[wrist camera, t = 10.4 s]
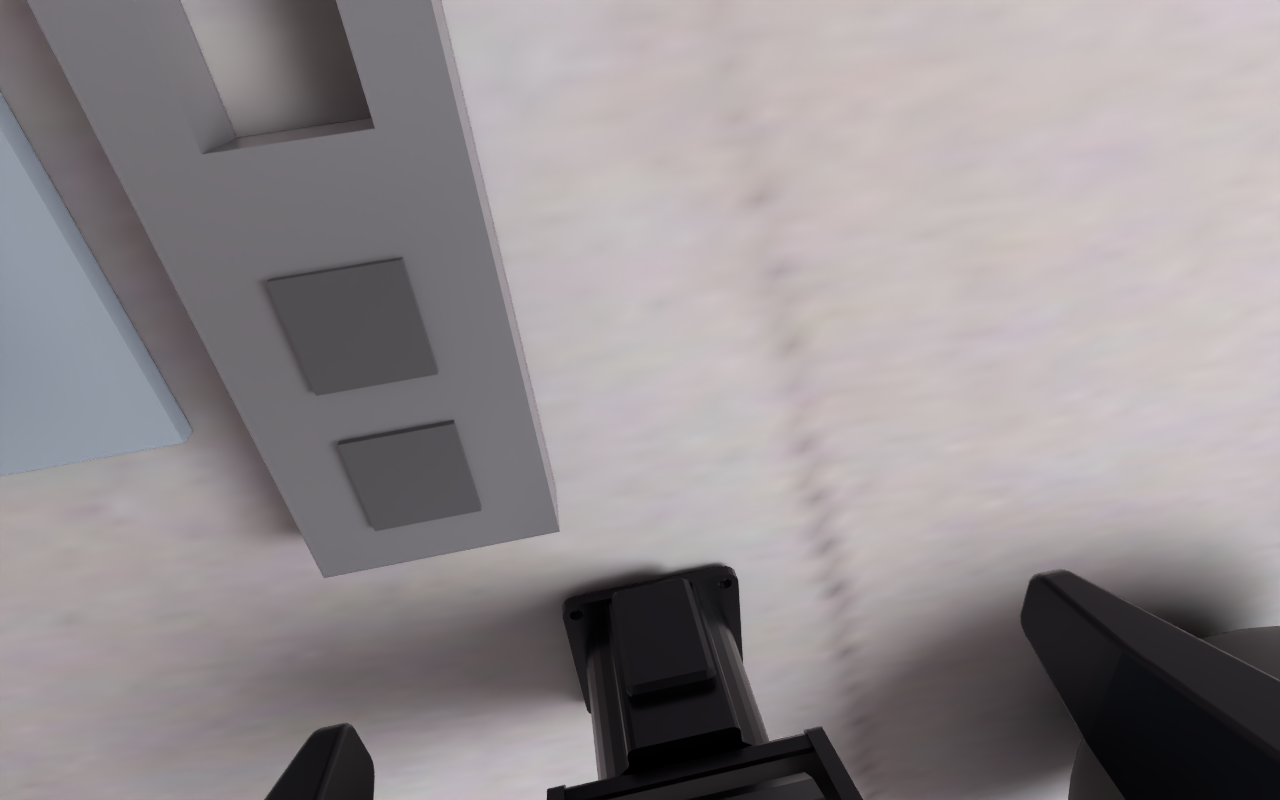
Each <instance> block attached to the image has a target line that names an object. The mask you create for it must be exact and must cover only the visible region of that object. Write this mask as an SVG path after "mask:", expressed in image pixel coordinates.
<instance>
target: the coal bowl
mask: <svg viewBox="0 0 1280 800" xmlns="http://www.w3.org/2000/svg"><path fill="white" fill-rule="evenodd" d="M1201 640H1203V641H1205V642H1207V643H1209V644H1210V645H1212V646H1214V647H1216V648H1218V649H1220V650H1222V651H1224V652H1226V653H1228V654H1230V655H1232V656H1234V657H1236V658H1237V659H1239V660H1241V661H1243V662H1245V663H1247V664H1249V665H1251V666H1253V667H1255V668H1257V669H1259V670H1261V671H1263V672H1264V673H1266V674H1268V675H1270V676H1272V677H1274V678H1276V679H1278V680H1280V626H1272V627H1260V628H1248V629H1242V630H1236V631H1231V632H1226V633H1221V634H1217V635H1212V636H1208V637H1205V638H1201ZM1068 800H1125V799H1124V798H1123V796H1122V795H1121V793H1120V792H1119V790H1118V789H1117V787H1116V786H1115V785H1114V783H1113V782H1112V780H1111V779H1110V777H1109V776H1108V774H1107V773H1106V771H1105V770H1104V769H1103V767H1102V766H1101V764H1100V763H1099V761H1098V760H1097V758H1096V757H1095V755H1094V754H1093V752H1092V751H1091V749H1090V748H1089V746H1088V745H1087V743H1086V741H1085V740H1084V738H1083V739H1082V741H1081V743H1080V746H1079V748H1078V751H1077V754H1076V758H1075V762H1074V766H1073V770H1072V774H1071V779H1070V787H1069V795H1068Z"/></svg>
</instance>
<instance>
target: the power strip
mask: <svg viewBox="0 0 1280 800" xmlns="http://www.w3.org/2000/svg"><path fill="white" fill-rule="evenodd" d="M27 2H28V4H29V6H30V8H31V10H32V12H33V14H34V16H35V18H36V20H37V22H38V24H39V26H40V28H41V29H42V31H43V33H44V35H45V37H46V39H47V41H48V43H49V45H50V47H51V49H52V51H53V53H54V55H55V57H56V59H57V61H58V62H59V64H60V66H61V68H62V70H63V72H64V74H65V76H66V78H67V80H68V82H69V84H70V86H71V88H72V90H73V92H74V94H75V95H76V97H77V99H78V101H79V103H80V105H81V107H82V109H83V111H84V113H85V115H86V117H87V119H88V121H89V123H90V125H91V127H92V129H93V130H94V132H95V134H96V136H97V138H98V140H99V142H100V144H101V146H102V148H103V150H104V152H105V154H106V156H107V158H108V160H109V162H110V163H111V165H112V167H113V169H114V171H115V173H116V175H117V177H118V179H119V181H120V183H121V185H122V187H123V189H124V191H125V193H126V195H127V196H128V198H129V200H130V202H131V204H132V206H133V208H134V210H135V212H136V214H137V216H138V218H139V220H140V222H141V224H142V226H143V228H144V230H145V231H146V233H147V235H148V237H149V239H150V241H151V243H152V245H153V247H154V249H155V251H156V253H157V255H158V257H159V259H160V261H161V263H162V264H163V266H164V268H165V270H166V272H167V274H168V276H169V278H170V280H171V282H172V284H173V286H174V288H175V290H176V292H177V294H178V296H179V298H180V299H181V301H182V303H183V305H184V307H185V309H186V311H187V313H188V315H189V317H190V319H191V321H192V323H193V325H194V327H195V329H196V331H197V332H198V334H199V336H200V338H201V340H202V342H203V344H204V346H205V348H206V350H207V352H208V354H209V356H210V358H211V360H212V362H213V364H214V365H215V367H216V369H217V371H218V373H219V375H220V377H221V379H222V381H223V383H224V385H225V387H226V389H227V391H228V393H229V395H230V397H231V399H232V400H233V402H234V404H235V406H236V408H237V410H238V412H239V414H240V416H241V418H242V420H243V422H244V424H245V426H246V428H247V430H248V432H249V433H250V435H251V437H252V439H253V441H254V443H255V445H256V447H257V449H258V451H259V453H260V455H261V457H262V459H263V461H264V463H265V465H266V466H267V468H268V470H269V472H270V474H271V476H272V478H273V480H274V482H275V484H276V486H277V488H278V490H279V492H280V494H281V496H282V498H283V500H284V501H285V503H286V505H287V507H288V509H289V511H290V513H291V515H292V517H293V519H294V521H295V523H296V525H297V527H298V529H299V531H300V533H301V534H302V536H303V538H304V540H305V542H306V544H307V546H308V548H309V550H310V552H311V554H312V556H313V558H314V560H315V562H316V564H317V566H318V567H319V569H320V571H321V573H322V575H323V577H324V578H327V577H332V576H337V575H342V574H347V573H352V572H358V571H363V570H368V569H373V568H378V567H383V566H388V565H393V564H398V563H403V562H408V561H413V560H418V559H423V558H428V557H433V556H438V555H443V554H448V553H453V552H459V551H464V550H469V549H474V548H479V547H484V546H489V545H494V544H499V543H504V542H509V541H514V540H519V539H524V538H529V537H534V536H539V535H544V534H549V533H554V532H560V530H559V518H558V506H557V493H556V487H555V483H554V479H553V474H552V470H551V466H550V462H549V457H548V453H547V449H546V445H545V440H544V436H543V432H542V428H541V423H540V419H539V415H538V411H537V406H536V402H535V398H534V394H533V389H532V385H531V381H530V377H529V372H528V368H527V364H526V360H525V355H524V351H523V347H522V343H521V338H520V334H519V330H518V326H517V321H516V317H515V313H514V309H513V304H512V300H511V296H510V292H509V287H508V283H507V279H506V275H505V270H504V266H503V262H502V258H501V253H500V249H499V245H498V241H497V236H496V232H495V228H494V224H493V219H492V215H491V211H490V207H489V202H488V198H487V194H486V190H485V185H484V181H483V177H482V173H481V168H480V164H479V160H478V156H477V151H476V147H475V143H474V139H473V134H472V130H471V126H470V122H469V117H468V113H467V109H466V105H465V100H464V96H463V92H462V88H461V83H460V79H459V75H458V71H457V66H456V62H455V58H454V54H453V49H452V45H451V41H450V37H449V32H448V28H447V24H446V19H445V15H444V11H443V7H442V2H441V0H336V3H337V6H338V9H339V13H340V16H341V19H342V22H343V26H344V29H345V32H346V35H347V39H348V42H349V45H350V49H351V52H352V55H353V58H354V62H355V65H356V68H357V71H358V75H359V78H360V81H361V84H362V88H363V91H364V94H365V98H366V101H367V104H368V107H369V111H370V114H371V117H372V118H368V119H361V120H354V121H347V122H341V123H334V124H327V125H320V126H314V127H307V128H300V129H293V130H287V131H280V132H273V133H266V134H260V135H253V136H246V137H239V138H237V137H236V135H235V133H234V130H233V128H232V125H231V123H230V120H229V118H228V116H227V113H226V111H225V108H224V106H223V103H222V101H221V99H220V96H219V94H218V91H217V89H216V86H215V84H214V82H213V79H212V77H211V74H210V72H209V69H208V67H207V65H206V62H205V60H204V57H203V55H202V52H201V50H200V47H199V45H198V43H197V40H196V38H195V35H194V33H193V30H192V28H191V26H190V23H189V21H188V18H187V16H186V13H185V11H184V9H183V6H182V4H181V1H180V0H27Z"/></svg>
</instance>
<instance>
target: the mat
mask: <svg viewBox="0 0 1280 800" xmlns="http://www.w3.org/2000/svg"><path fill="white" fill-rule="evenodd" d="M192 432H193V430H192V429H191V427H190V425H189V423H188V422H187V420H186V418H185V416H184V415H183V413H182V411H181V409H180V407H179V406H178V404H177V402H176V400H175V399H174V397H173V395H172V393H171V392H170V390H169V388H168V386H167V385H166V383H165V381H164V379H163V378H162V376H161V374H160V372H159V370H158V369H157V367H156V365H155V363H154V362H153V360H152V358H151V356H150V355H149V353H148V351H147V349H146V348H145V346H144V344H143V342H142V341H141V339H140V337H139V335H138V333H137V332H136V330H135V328H134V326H133V325H132V323H131V321H130V319H129V318H128V316H127V314H126V312H125V311H124V309H123V307H122V305H121V304H120V302H119V300H118V298H117V296H116V295H115V293H114V291H113V289H112V288H111V286H110V284H109V282H108V281H107V279H106V277H105V275H104V274H103V272H102V270H101V268H100V266H99V265H98V263H97V261H96V259H95V258H94V256H93V254H92V252H91V251H90V249H89V247H88V245H87V244H86V242H85V240H84V238H83V237H82V235H81V233H80V231H79V229H78V228H77V226H76V224H75V222H74V221H73V219H72V217H71V215H70V214H69V212H68V210H67V208H66V207H65V205H64V203H63V201H62V200H61V198H60V196H59V194H58V192H57V191H56V189H55V187H54V185H53V184H52V182H51V180H50V178H49V177H48V175H47V173H46V171H45V170H44V168H43V166H42V164H41V163H40V161H39V159H38V157H37V155H36V154H35V152H34V150H33V148H32V147H31V145H30V143H29V141H28V140H27V138H26V136H25V134H24V133H23V131H22V129H21V127H20V126H19V124H18V122H17V120H16V118H15V117H14V115H13V113H12V111H11V110H10V108H9V106H8V104H7V103H6V101H5V99H4V97H3V96H2V94H1V92H0V476H5V475H11V474H16V473H22V472H27V471H33V470H38V469H44V468H49V467H55V466H60V465H66V464H71V463H77V462H83V461H88V460H94V459H99V458H105V457H110V456H116V455H121V454H127V453H132V452H138V451H143V450H149V449H155V448H160V447H166V446H171V445H177V444H182V443H185V441H186V440H187V439H188V437H189V436H190V435H191V433H192Z"/></svg>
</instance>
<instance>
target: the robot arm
mask: <svg viewBox="0 0 1280 800" xmlns="http://www.w3.org/2000/svg"><path fill="white" fill-rule="evenodd" d="M724 579H726V580H724ZM721 580H724V581H721ZM575 610H579V611H575ZM562 611H563V620H564V623H565V627H566V631H567V635H568V639H569V642H570V646H571V650H572V654H573V658H574V662H575V665H576V669H577V673H578V677H579V681H580V684H581V688H582V692H583V696H584V700H585V704H586V707H587V711H588V712H589V713H590V714H591V715H592V724H593V734H594V743H595V753H596V762H597V771H598V781H594V782H590V783H585V784H581V785H577V786H572V787H568V788H566V786H565V785H562V786H558V787H553V788H549V789H547V800H863V799H862V797H861V795H860V794H859V792H858V790H857V788H856V787H855V785H854V783H853V781H852V780H851V778H850V776H849V774H848V772H847V771H846V769H845V767H844V765H843V764H842V762H841V760H840V758H839V757H838V755H837V753H836V751H835V749H834V748H833V746H832V744H831V742H830V741H829V739H828V737H827V735H826V734H825V732H824V730H823V728H822V727H821V726H820V727H816V728H811V729H807V730H804V734H799V735H795V736H791V737H786V738H782V739H778V740H773V741H769V739H768V736H767V733H766V730H765V727H764V724H763V721H762V718H761V715H760V713H759V710H758V707H757V704H756V701H755V698H754V695H753V692H752V689H751V686H750V683H749V681H748V678H747V675H746V672H745V669H744V666H743V655H742V638H741V620H740V603H739V585H738V579H737V576H736V574H735V571H734V570H733V569H732V568H731V567H727V566H723V567H717V568H712V569H707V570H703V571H698V572H693V573H688V574H683V575H678V576H673V577H669V578H664V579H659V580H654V581H649V582H644V583H639V584H635V585H630V586H625V587H620V588H615V589H610V590H605V591H601V592H596V593H591V594H586V595H581V596H576V597H572V598H570V599H568V600H566V601H565V602H564V604H563V606H562ZM1020 617H1021V625H1022V628H1023V631H1024V633H1025V635H1026V637H1027V639H1028V640H1029V642H1030V644H1031V646H1032V648H1033V649H1034V651H1035V653H1036V655H1037V657H1038V658H1039V660H1040V662H1041V664H1042V666H1043V667H1044V669H1045V671H1046V673H1047V675H1048V676H1049V678H1050V680H1051V682H1052V683H1053V685H1054V687H1055V689H1056V691H1057V692H1058V694H1059V696H1060V698H1061V700H1062V701H1063V703H1064V705H1065V707H1066V709H1067V710H1068V712H1069V714H1070V716H1071V718H1072V719H1073V721H1074V723H1075V725H1076V726H1077V728H1078V730H1079V731H1080V733H1081V735H1082V736H1083V738H1084V740H1085V741H1086V743H1087V745H1088V746H1089V748H1090V749H1091V751H1092V752H1093V754H1094V755H1095V757H1096V758H1097V760H1098V761H1099V763H1100V764H1101V766H1102V767H1103V769H1104V770H1105V771H1106V773H1107V774H1108V776H1109V777H1110V779H1111V780H1112V782H1113V783H1114V785H1115V786H1116V787H1117V789H1118V790H1119V792H1120V793H1121V795H1122V796H1123V798H1124V799H1125V800H1280V680H1278V679H1276V678H1274V677H1272V676H1270V675H1268V674H1266V673H1264V672H1263V671H1261V670H1259V669H1257V668H1255V667H1253V666H1251V665H1249V664H1247V663H1245V662H1243V661H1241V660H1239V659H1237V658H1236V657H1234V656H1232V655H1230V654H1228V653H1226V652H1224V651H1222V650H1220V649H1218V648H1216V647H1214V646H1212V645H1210V644H1209V643H1207V642H1205V641H1203V640H1201V639H1199V638H1197V637H1195V636H1193V635H1191V634H1189V633H1187V632H1185V631H1184V630H1182V629H1180V628H1178V627H1176V626H1174V625H1172V624H1170V623H1168V622H1166V621H1164V620H1162V619H1160V618H1158V617H1157V616H1155V615H1153V614H1151V613H1149V612H1147V611H1145V610H1143V609H1141V608H1139V607H1137V606H1135V605H1133V604H1132V603H1130V602H1128V601H1126V600H1124V599H1122V598H1120V597H1118V596H1116V595H1114V594H1112V593H1110V592H1108V591H1106V590H1105V589H1103V588H1101V587H1099V586H1097V585H1095V584H1093V583H1091V582H1089V581H1087V580H1085V579H1083V578H1081V577H1080V576H1078V575H1076V574H1074V573H1072V572H1069V571H1066V570H1061V569H1059V570H1052V571H1048V572H1043V573H1038V574H1035V575H1034V576H1032V577H1031V579H1030V581H1029V583H1028V587H1027V591H1026V595H1025V599H1024V602H1023V606H1022V610H1021V615H1020ZM374 778H375V775H374V765H373V761H372V759H371V756H370V755H369V753H368V751H367V749H366V748H365V746H364V744H363V742H362V741H361V739H360V737H359V736H358V734H357V732H356V730H355V729H354V727H353V726H352V725H350V724H348V723H342V724H338V725H333V726H328V727H324V728H320V729H318V730H316V731H315V732H313V733H312V734H311V735H310V737H309V738H308V739H307V740H306V742H305V743H304V745H303V746H302V747H301V749H300V750H299V752H298V753H297V754H296V756H295V757H294V759H293V760H292V761H291V763H290V764H289V766H288V767H287V768H286V770H285V771H284V773H283V774H282V775H281V777H280V778H279V780H278V781H277V783H276V784H275V785H274V787H273V788H272V790H271V791H270V792H269V794H268V795H267V797H266V798H265V799H264V800H373V798H374Z"/></svg>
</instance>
